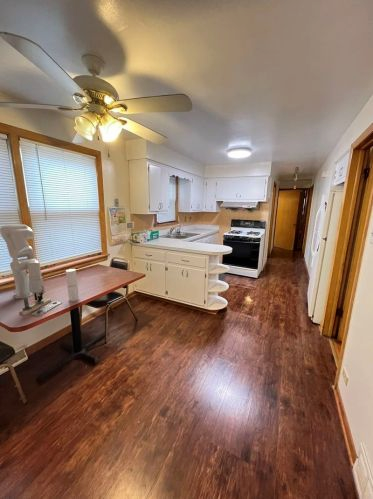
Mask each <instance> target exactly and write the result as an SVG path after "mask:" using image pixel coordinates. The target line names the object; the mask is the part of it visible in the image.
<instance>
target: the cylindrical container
mask: <svg viewBox="0 0 373 499" xmlns="http://www.w3.org/2000/svg"><path fill="white" fill-rule="evenodd" d="M65 277H66V284H67V293H68V300H69V301H70V302H76V301H78V300H79V299H80V295H79V286H78V278H77V269H76V268H70V269H66V270H65Z"/></svg>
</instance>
